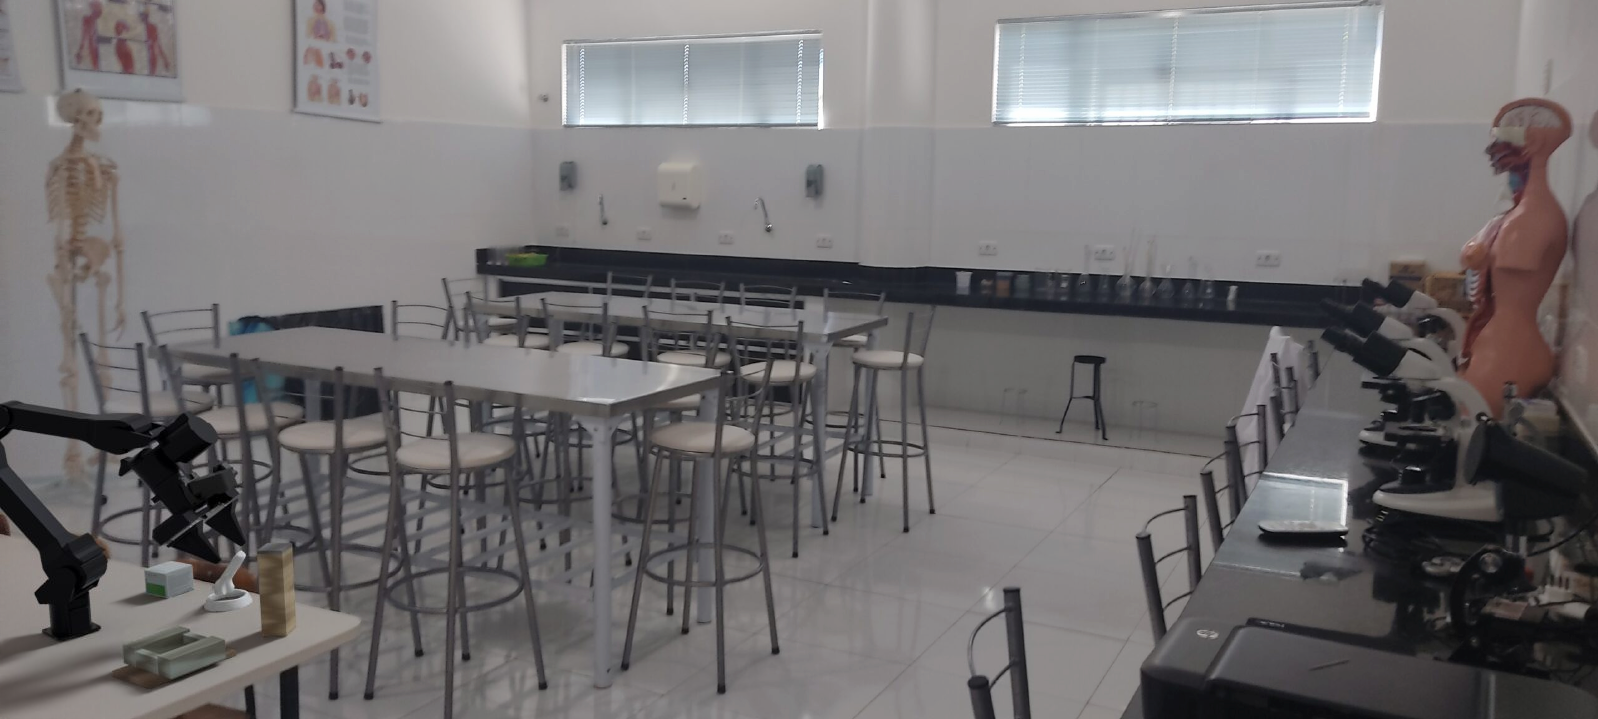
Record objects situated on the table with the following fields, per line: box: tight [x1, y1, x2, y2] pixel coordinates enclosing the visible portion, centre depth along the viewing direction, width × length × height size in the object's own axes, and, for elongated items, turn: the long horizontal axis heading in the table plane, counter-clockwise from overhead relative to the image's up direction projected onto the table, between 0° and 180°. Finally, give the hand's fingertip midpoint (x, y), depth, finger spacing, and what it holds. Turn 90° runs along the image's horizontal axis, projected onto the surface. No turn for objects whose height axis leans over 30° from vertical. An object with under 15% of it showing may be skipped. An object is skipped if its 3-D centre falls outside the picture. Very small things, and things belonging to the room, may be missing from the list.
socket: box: [111, 625, 237, 690], centre depth 174 cm, size 12×14×4 cm
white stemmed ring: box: [203, 550, 253, 613], centre depth 199 cm, size 8×12×7 cm
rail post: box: [256, 542, 297, 637], centre depth 187 cm, size 4×4×15 cm
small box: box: [143, 560, 195, 599], centre depth 205 cm, size 6×6×5 cm
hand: (231, 553), depth 186 cm, fingers open, 9 cm apart
